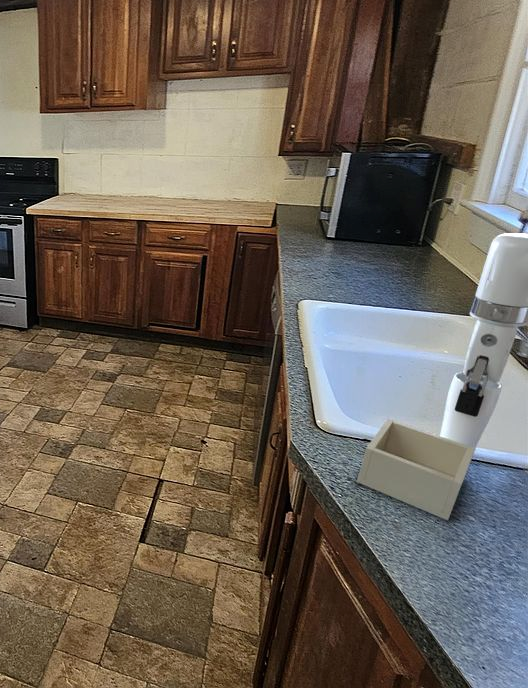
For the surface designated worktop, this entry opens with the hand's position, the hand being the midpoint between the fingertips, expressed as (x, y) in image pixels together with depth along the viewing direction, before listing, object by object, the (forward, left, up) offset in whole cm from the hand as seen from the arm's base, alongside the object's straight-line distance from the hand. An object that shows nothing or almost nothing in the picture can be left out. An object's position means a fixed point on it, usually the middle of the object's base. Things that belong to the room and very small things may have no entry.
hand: (469, 404), depth 93 cm
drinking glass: (0, 0, -10) cm, 10 cm away
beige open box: (+4, +14, -11) cm, 18 cm away
